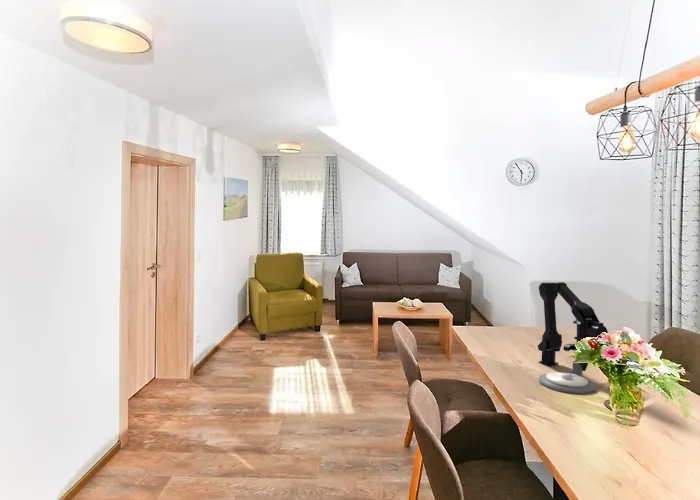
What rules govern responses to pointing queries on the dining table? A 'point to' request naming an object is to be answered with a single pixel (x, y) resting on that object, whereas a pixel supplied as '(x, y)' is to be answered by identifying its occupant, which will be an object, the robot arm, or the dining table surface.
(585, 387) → the dial base
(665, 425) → the dining table surface
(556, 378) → the dial
